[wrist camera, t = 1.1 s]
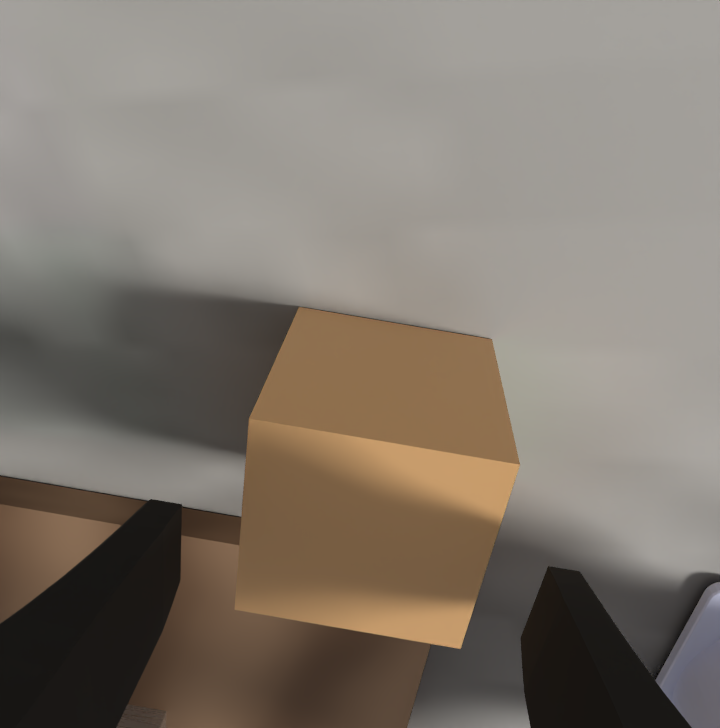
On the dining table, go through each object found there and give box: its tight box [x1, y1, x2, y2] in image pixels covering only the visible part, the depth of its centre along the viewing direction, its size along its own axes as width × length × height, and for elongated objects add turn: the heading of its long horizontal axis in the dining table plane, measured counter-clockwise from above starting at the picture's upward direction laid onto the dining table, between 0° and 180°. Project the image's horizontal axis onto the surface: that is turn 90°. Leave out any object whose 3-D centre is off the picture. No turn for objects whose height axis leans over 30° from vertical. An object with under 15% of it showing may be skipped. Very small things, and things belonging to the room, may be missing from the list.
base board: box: [0, 476, 431, 728], centre depth 25 cm, size 20×20×1 cm
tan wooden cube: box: [234, 307, 520, 649], centre depth 16 cm, size 5×5×6 cm
